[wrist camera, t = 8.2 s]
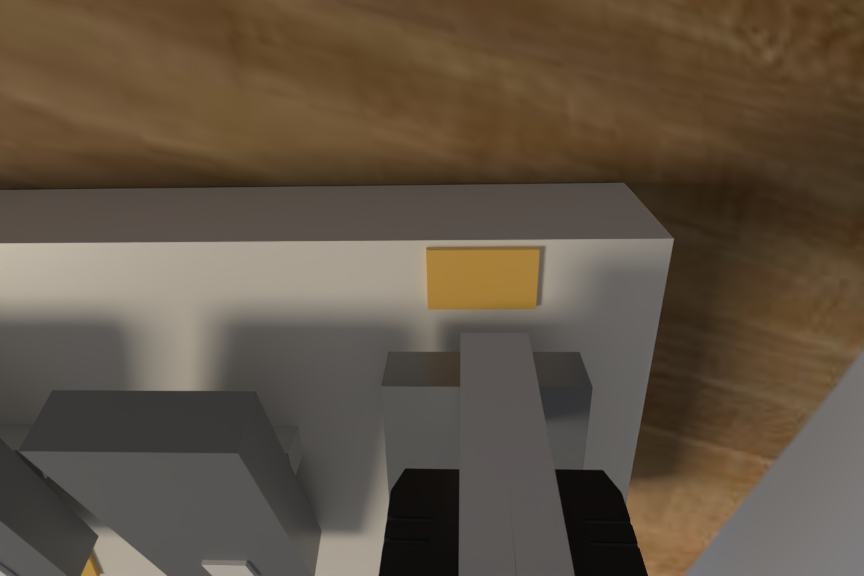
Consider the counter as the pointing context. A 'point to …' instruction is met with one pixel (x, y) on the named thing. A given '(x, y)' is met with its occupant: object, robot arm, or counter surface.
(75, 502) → the switch unit
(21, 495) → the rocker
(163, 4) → the counter surface
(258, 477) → the block
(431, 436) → the block
